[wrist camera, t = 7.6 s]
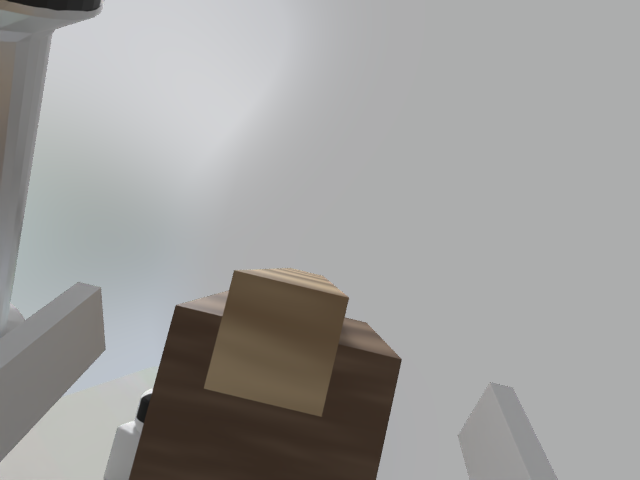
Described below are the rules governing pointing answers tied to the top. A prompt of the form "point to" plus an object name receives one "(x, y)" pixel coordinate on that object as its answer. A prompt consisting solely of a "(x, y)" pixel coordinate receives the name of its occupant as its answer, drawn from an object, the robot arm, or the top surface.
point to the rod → (278, 338)
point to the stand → (263, 412)
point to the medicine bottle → (127, 443)
